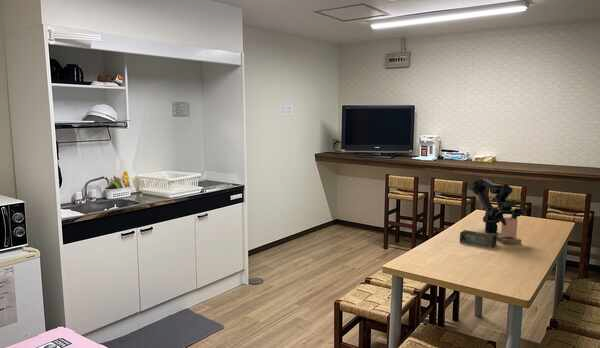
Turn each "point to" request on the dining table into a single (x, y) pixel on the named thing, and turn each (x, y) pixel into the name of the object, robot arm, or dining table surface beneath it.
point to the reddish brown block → (509, 227)
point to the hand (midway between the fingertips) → (510, 225)
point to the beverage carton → (478, 238)
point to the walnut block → (508, 239)
